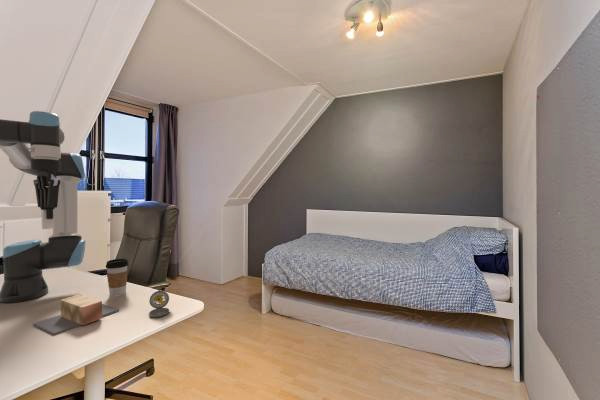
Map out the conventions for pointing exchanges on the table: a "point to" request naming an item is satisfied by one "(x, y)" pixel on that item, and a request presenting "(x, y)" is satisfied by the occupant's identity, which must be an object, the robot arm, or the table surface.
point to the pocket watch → (159, 307)
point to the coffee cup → (117, 276)
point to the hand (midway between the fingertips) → (48, 228)
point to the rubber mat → (66, 322)
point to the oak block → (81, 309)
